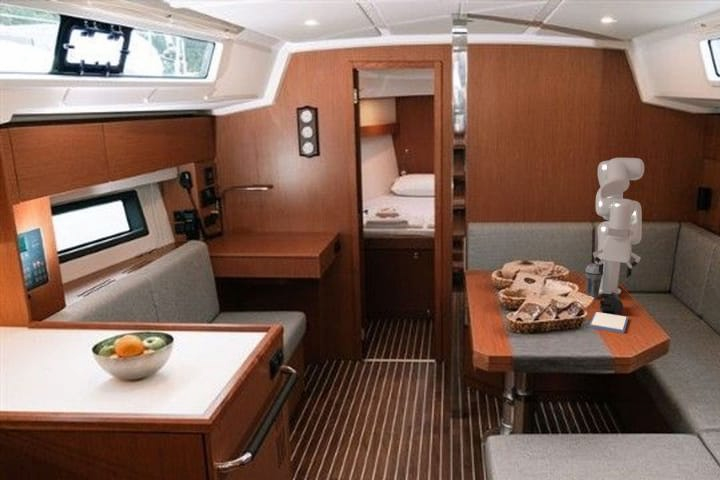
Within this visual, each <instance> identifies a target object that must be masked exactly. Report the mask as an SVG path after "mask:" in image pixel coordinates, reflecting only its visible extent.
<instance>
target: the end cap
mask: <svg viewBox="0 0 720 480" xmlns="http://www.w3.org/2000/svg"><path fill="white" fill-rule="evenodd" d="M600 298H602V299H603V300H602V299H600V300H599V305H600V306H599V309H600V311H601V313H606V314H612V315H619V314H620V313H621V312H622V311H623V310H624V304H623V302H622V300H621V299H620V297H619V294H618V295H617V294H616V293H614V292H611V294H604V293H601V294H600Z"/></svg>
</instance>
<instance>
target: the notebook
mask: <svg viewBox="0 0 720 480" xmlns="http://www.w3.org/2000/svg"><path fill="white" fill-rule="evenodd" d="M628 322H629V317H628V316H624V315H619V314H616V315H612V314H606V313H602V312H599V311H595V312H594V314H593V316H592V318H591V320H590V322H589V324H588V328H591V329H597V330H603V331H607V332H612V333H613V332H614V333H620V334H625V331H626V328H627V325H628Z"/></svg>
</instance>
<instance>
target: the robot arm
mask: <svg viewBox="0 0 720 480" xmlns="http://www.w3.org/2000/svg"><path fill="white" fill-rule="evenodd" d="M644 173H645V164H644V161H643V160H642V159H641V158H637V157H614V158H611V159H609V160H603V161H601V162H600V163H599V164H598V166H597V179H598V185H599V186H600V187H599V189H598V190H597V192H596V195H595V212H596V214H597V215H598V216H600V217H602V218H603V219H604V220H606V221H602V222H601V223H599V225H598V226H597V250H596V251H594V252H592V255H593V258H594V261H595V262H596V261H597V263H598V264H599V272H600V275H602V274H603V276H602V279H601V284H600V289H599V294H598V295H601V293H604V294H611V292H614V293H616V294H617V295H618V296H619V295H620V294H621V293H622V289H621V288H619V276H620V269H621V263H622V264H626V265H627V269H626V279H629V278H630V277H631V276H632V269H633V268H634V267H635V266H636V265H638V263H639V262H640V261H641V256H639V255H638V254H636V253H634V252H632V245H638V244H640V242H641V240H642V233H643V231H642V230H643V227H642V226H643V224H642V223H643V221H642V218H643V217H642V215H643V214H642V212H643V211H642V206H641V203H640V202H639V201H637V200H632V199H629V198H624V192H626V191H627V190H628V188H629V187H630V181H637V180H640V179H642V177H643V175H644ZM597 255H598V256H597ZM631 258H633V259H635V260H634V261H633V262H631Z"/></svg>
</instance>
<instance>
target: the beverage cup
mask: <svg viewBox="0 0 720 480" xmlns="http://www.w3.org/2000/svg"><path fill="white" fill-rule="evenodd" d="M597 256H598V255H597ZM584 272H585V296H586V295H588V296H592V297H594V300H593V301H596V300H598V297H599V295H600V294H599V289H600V284H601V279H602V276H603V274H602V275H600V272H599V264H598V263H597V261H596V260H595V262H591V263H589V264H588V265H587V266H586V268H585V271H584Z"/></svg>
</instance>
